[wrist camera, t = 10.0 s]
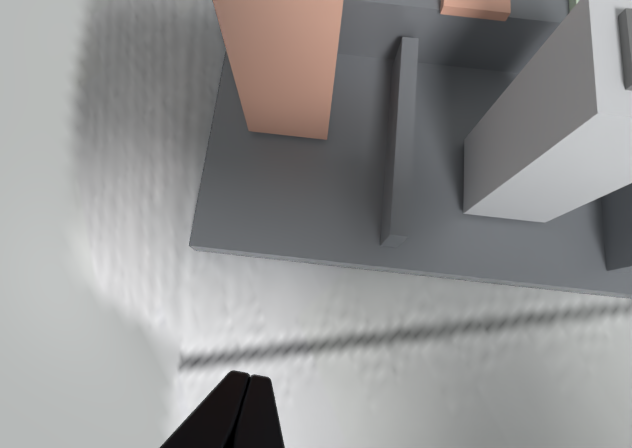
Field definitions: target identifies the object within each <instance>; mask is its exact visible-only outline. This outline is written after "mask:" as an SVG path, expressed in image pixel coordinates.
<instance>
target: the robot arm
mask: <svg viewBox="0 0 632 448" xmlns="http://www.w3.org/2000/svg"><path fill="white" fill-rule="evenodd" d="M160 448H285V447H284V442H283V437H282V432H281V427H280V422H279V417H278V412H277V407H276V402H275V397H274V392H273V387H272V382H271V379H270V378H269V377H265V376H260V375H255V374H254V375H252V376H251V377H250V375H249V374H248V373H245V372H240V371H235V370H233V371H230V372H229V373H228V374H227V375H226V376H225V377H224V378H223V379H222V380H221V382H220V383H219V384H218V385H217V386H216V387H215V388H214V389H213V390H212V391H211V392H210V393H209V395H208V396H207V397H206V398H205V399H204V400H203V401H202V402H201V403H200V404H199V405H198V407H197V408H196V409H195V410H194V411H193V412H192V413H191V414H190V415H189V416H188V417H187V418H186V420H185V421H184V422H183V423H182V424H181V425H180V426H179V427H178V428H177V429H176V430H175V432H174V433H173V434H172V435H171V436H170V437H169V438H168V439H167V440H166V441H165V442H164V444H163V445H162V446H161V447H160Z"/></svg>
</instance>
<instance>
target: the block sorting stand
mask: <svg viewBox="0 0 632 448" xmlns="http://www.w3.org/2000/svg"><path fill="white" fill-rule="evenodd" d="M578 2H579V0H343V9H342V17H341V26H340V34H339V43H338V51H337V60H336V68H335V77H334V85H333V94H332V102H331V111H330V119H329V128H328V136H327V140H324V139H315V138H306V137H297V136H288V135H279V134H270V133H261V132H252V131H249V130H248V127H247V123H246V119H245V116H244V112H243V109H242V105H241V101H240V98H239V94H238V90H237V87H236V83H235V80H234V76H233V72H232V69H231V65H230V61H229V58H228V54H227V51H226V53H225V59H224V64H223V69H222V74H221V80H220V85H219V90H218V95H217V101H216V106H215V111H214V116H213V122H212V127H211V132H210V137H209V143H208V148H207V153H206V158H205V164H204V169H203V174H202V179H201V184H200V190H199V195H198V200H197V205H196V211H195V216H194V221H193V226H192V232H191V237H190V242H189V246H190V247H191V248H193V249H194V250H196V251H205V252H214V253H223V254H232V255H241V256H250V257H259V258H268V259H277V260H286V261H295V262H304V263H313V264H322V265H332V266H341V267H350V268H359V269H368V270H377V271H386V272H395V273H404V274H413V275H422V276H431V277H440V278H449V279H458V280H467V281H476V282H485V283H494V284H504V285H513V286H522V287H531V288H540V289H549V290H558V291H567V292H576V293H585V294H594V295H603V296H612V297H621V298H630V299H632V183H631V184H628V185H626V186H624V187H622V188H620V189H617V190H615V191H613V192H611V193H609V194H607V195H604V196H602V197H600V198H598V199H596V200H593V201H591V202H589V203H587V204H585V205H582V206H580V207H578V208H576V209H574V210H572V211H569V212H567V213H565V214H563V215H561V216H558V217H556V218H554V219H552V220H550V221H547V222H545V223H543V222H534V221H525V220H516V219H507V218H498V217H489V216H480V215H471V214H463V202H464V139H465V138H466V137H467V136H468V134H469V133H470V132H471V131H472V130H473V128H474V127H475V126H476V125H477V124H478V122H479V121H480V120H481V119H482V117H483V116H484V115H485V114H486V113H487V111H488V110H489V109H490V108H491V107H492V105H493V104H494V103H495V102H496V101H497V99H498V98H499V97H500V96H501V95H502V93H503V92H504V91H505V90H506V89H507V87H508V86H509V85H510V84H511V82H512V81H513V80H514V79H515V78H516V76H517V75H518V74H519V73H520V72H521V70H522V69H523V68H524V67H525V66H526V64H527V63H528V62H529V61H530V60H531V58H532V57H533V56H534V55H535V54H536V52H537V51H538V50H539V49H540V47H541V46H542V45H543V44H544V43H545V41H546V40H547V39H548V38H549V37H550V35H551V34H552V33H553V32H554V31H555V29H556V28H557V27H558V26H559V25H560V23H561V22H562V21H563V20H564V19H565V17H566V16H567V15H568V14H569V12H570V11H571V10H572V9H573V8H574V6H575V5H576V4H577V3H578Z"/></svg>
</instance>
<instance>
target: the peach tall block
mask: <svg viewBox="0 0 632 448" xmlns="http://www.w3.org/2000/svg"><path fill="white" fill-rule="evenodd" d="M213 3H214V7H215V11H216V14H217V18H218V22H219V25H220V29H221V32H222V36H223V40H224V43H225V47H226V51H227V54H228V58H229V61H230V65H231V69H232V72H233V76H234V80H235V83H236V87H237V90H238V94H239V98H240V101H241V105H242V109H243V112H244V116H245V119H246V123H247V127H248V130H249V131H252V132H261V133H270V134H279V135H288V136H297V137H306V138H315V139H324V140H327V136H328V128H329V119H330V111H331V102H332V94H333V85H334V77H335V68H336V60H337V51H338V43H339V34H340V26H341V17H342V9H343V0H213Z"/></svg>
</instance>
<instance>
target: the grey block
mask: <svg viewBox="0 0 632 448" xmlns="http://www.w3.org/2000/svg"><path fill="white" fill-rule="evenodd" d="M631 183H632V0H579V2H578V3H577V4H576V5H575V6H574V8H573V9H572V10H571V11H570V12H569V14H568V15H567V16H566V17H565V19H564V20H563V21H562V22H561V23H560V25H559V26H558V27H557V28H556V29H555V31H554V32H553V33H552V34H551V35H550V37H549V38H548V39H547V40H546V41H545V43H544V44H543V45H542V46H541V47H540V49H539V50H538V51H537V52H536V54H535V55H534V56H533V57H532V58H531V60H530V61H529V62H528V63H527V64H526V66H525V67H524V68H523V69H522V70H521V72H520V73H519V74H518V75H517V76H516V78H515V79H514V80H513V81H512V82H511V84H510V85H509V86H508V87H507V89H506V90H505V91H504V92H503V93H502V95H501V96H500V97H499V98H498V99H497V101H496V102H495V103H494V104H493V105H492V107H491V108H490V109H489V110H488V111H487V113H486V114H485V115H484V116H483V117H482V119H481V120H480V121H479V122H478V124H477V125H476V126H475V127H474V128H473V130H472V131H471V132H470V133H469V134H468V136H467V137H466V138H465V139H464V202H463V214H471V215H480V216H489V217H498V218H507V219H516V220H525V221H534V222H543V223H545V222H547V221H550V220H552V219H554V218H556V217H558V216H561V215H563V214H565V213H567V212H569V211H572V210H574V209H576V208H578V207H580V206H582V205H585V204H587V203H589V202H591V201H593V200H596V199H598V198H600V197H602V196H604V195H607V194H609V193H611V192H613V191H615V190H617V189H620V188H622V187H624V186H626V185H628V184H631Z"/></svg>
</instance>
